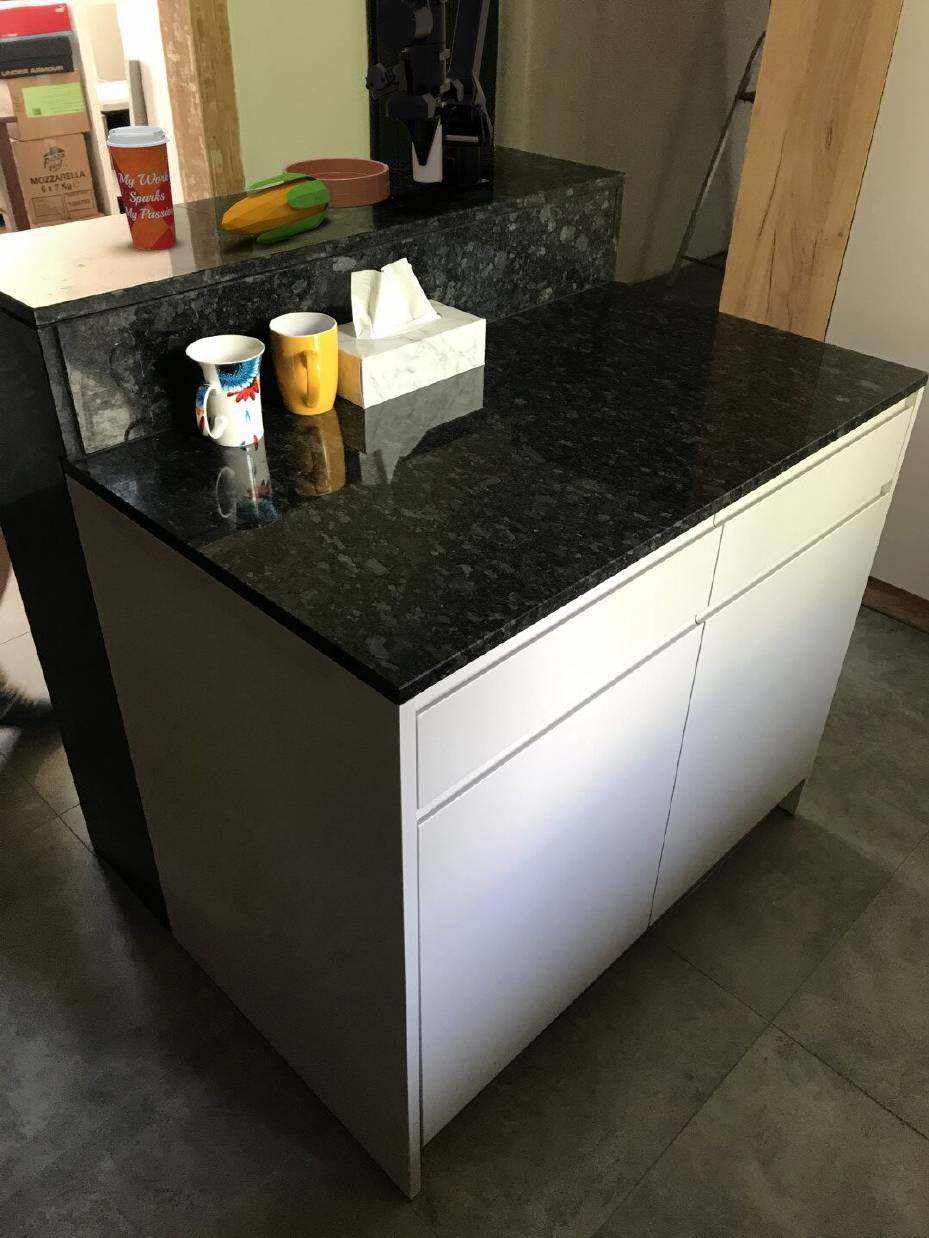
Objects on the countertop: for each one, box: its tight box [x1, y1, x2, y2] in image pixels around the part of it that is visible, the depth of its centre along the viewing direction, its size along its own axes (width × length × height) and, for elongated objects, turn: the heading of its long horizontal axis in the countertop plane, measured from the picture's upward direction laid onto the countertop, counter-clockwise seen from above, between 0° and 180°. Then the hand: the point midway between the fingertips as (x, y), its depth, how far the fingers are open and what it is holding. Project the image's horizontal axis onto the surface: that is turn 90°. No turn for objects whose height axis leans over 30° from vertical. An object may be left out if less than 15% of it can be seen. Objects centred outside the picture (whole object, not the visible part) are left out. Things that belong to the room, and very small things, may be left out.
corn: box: [221, 173, 330, 244], centre depth 135 cm, size 7×8×20 cm
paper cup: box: [105, 125, 177, 251], centre depth 130 cm, size 8×8×14 cm
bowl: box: [281, 157, 391, 209], centre depth 154 cm, size 16×16×4 cm
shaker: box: [411, 119, 442, 184], centre depth 148 cm, size 4×4×8 cm
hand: (427, 162), depth 149 cm, fingers closed on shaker, 4 cm apart
